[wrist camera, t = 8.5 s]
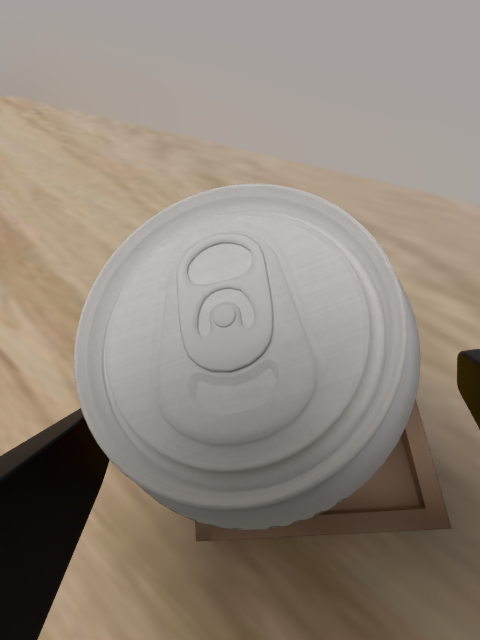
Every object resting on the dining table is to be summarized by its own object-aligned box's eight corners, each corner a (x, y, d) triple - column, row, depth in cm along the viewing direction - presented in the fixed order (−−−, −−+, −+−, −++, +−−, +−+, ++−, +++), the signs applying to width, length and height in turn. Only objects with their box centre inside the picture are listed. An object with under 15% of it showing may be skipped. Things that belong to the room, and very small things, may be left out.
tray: (438, 520, 16) (451, 528, 15) (207, 533, 18) (196, 541, 17) (380, 301, 21) (384, 288, 19) (198, 332, 23) (188, 323, 21)
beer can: (252, 481, 18) (32, 566, 5) (238, 370, 21) (66, 212, 7) (369, 467, 17) (524, 523, 4) (340, 352, 20) (371, 126, 6)
